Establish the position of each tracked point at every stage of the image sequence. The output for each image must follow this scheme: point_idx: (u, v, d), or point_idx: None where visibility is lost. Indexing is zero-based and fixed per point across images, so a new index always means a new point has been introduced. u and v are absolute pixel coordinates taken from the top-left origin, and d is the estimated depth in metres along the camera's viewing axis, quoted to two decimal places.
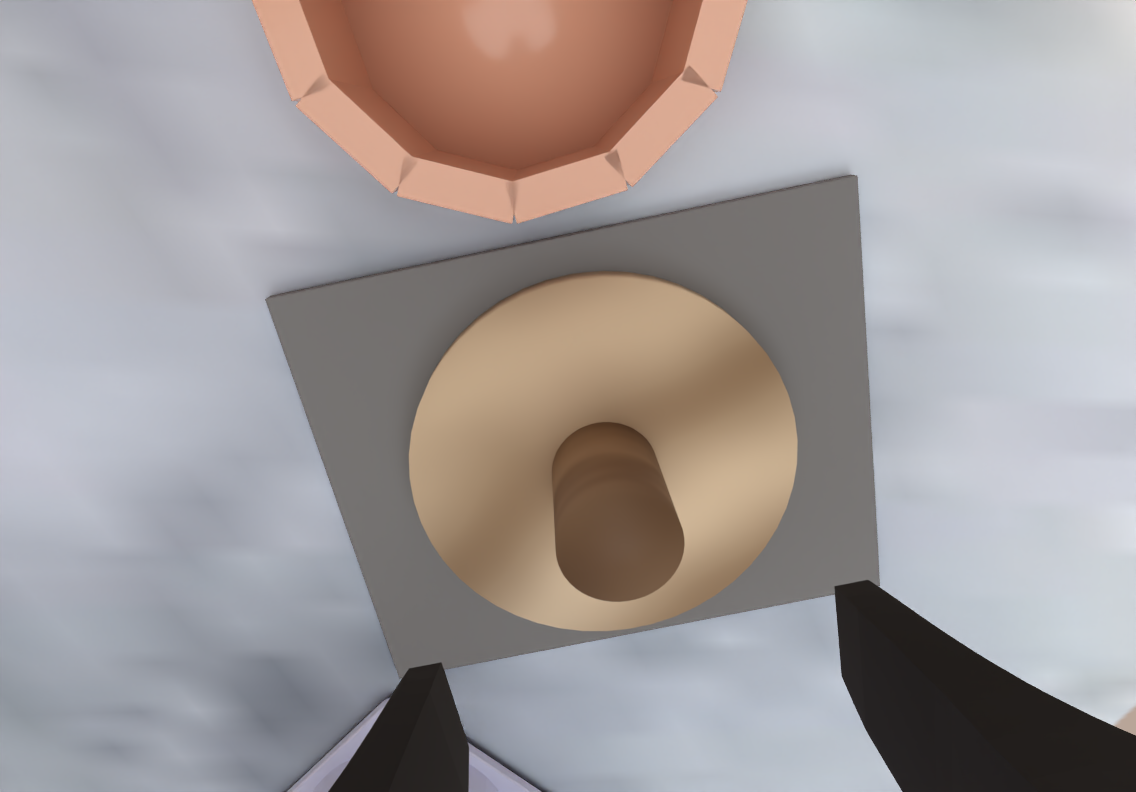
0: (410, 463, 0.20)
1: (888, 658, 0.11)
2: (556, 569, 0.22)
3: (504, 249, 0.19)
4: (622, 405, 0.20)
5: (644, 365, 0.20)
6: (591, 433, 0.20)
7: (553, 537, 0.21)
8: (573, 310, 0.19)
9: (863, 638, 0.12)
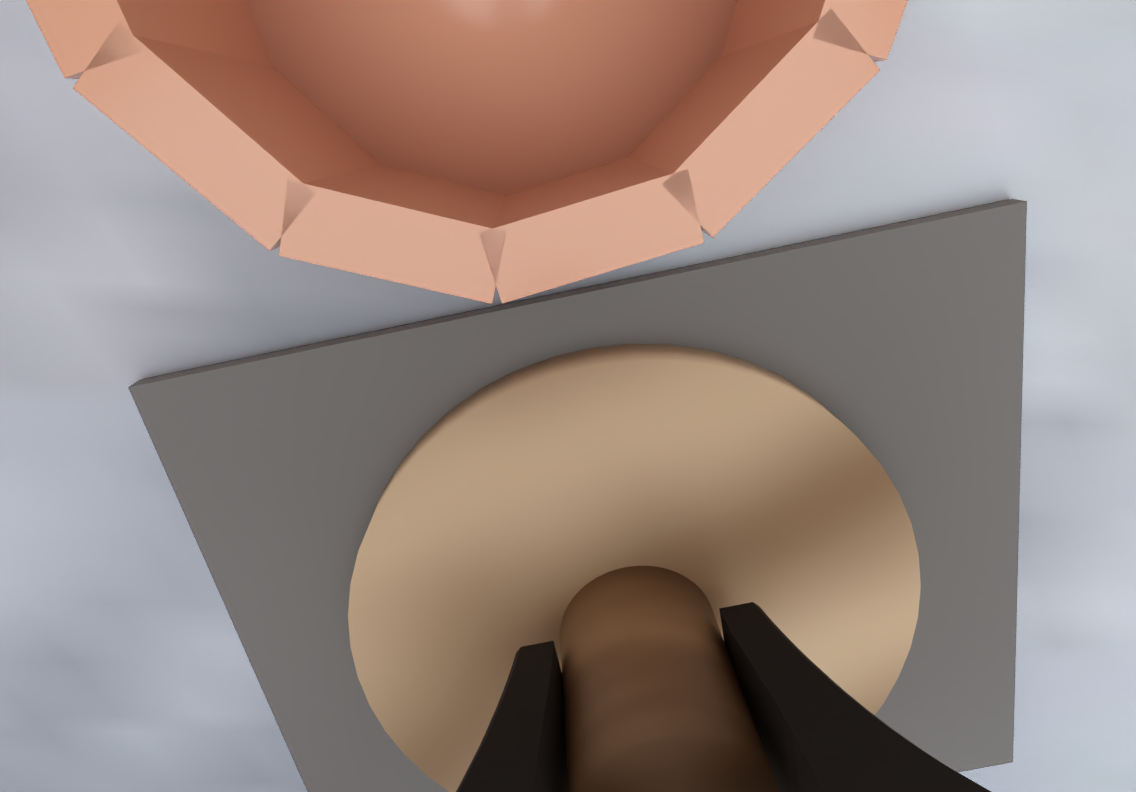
0: (350, 626, 0.14)
1: (754, 684, 0.11)
2: None
3: (488, 312, 0.13)
4: (665, 542, 0.13)
5: (699, 486, 0.13)
6: (619, 589, 0.13)
7: None
8: (592, 408, 0.12)
9: (738, 662, 0.12)
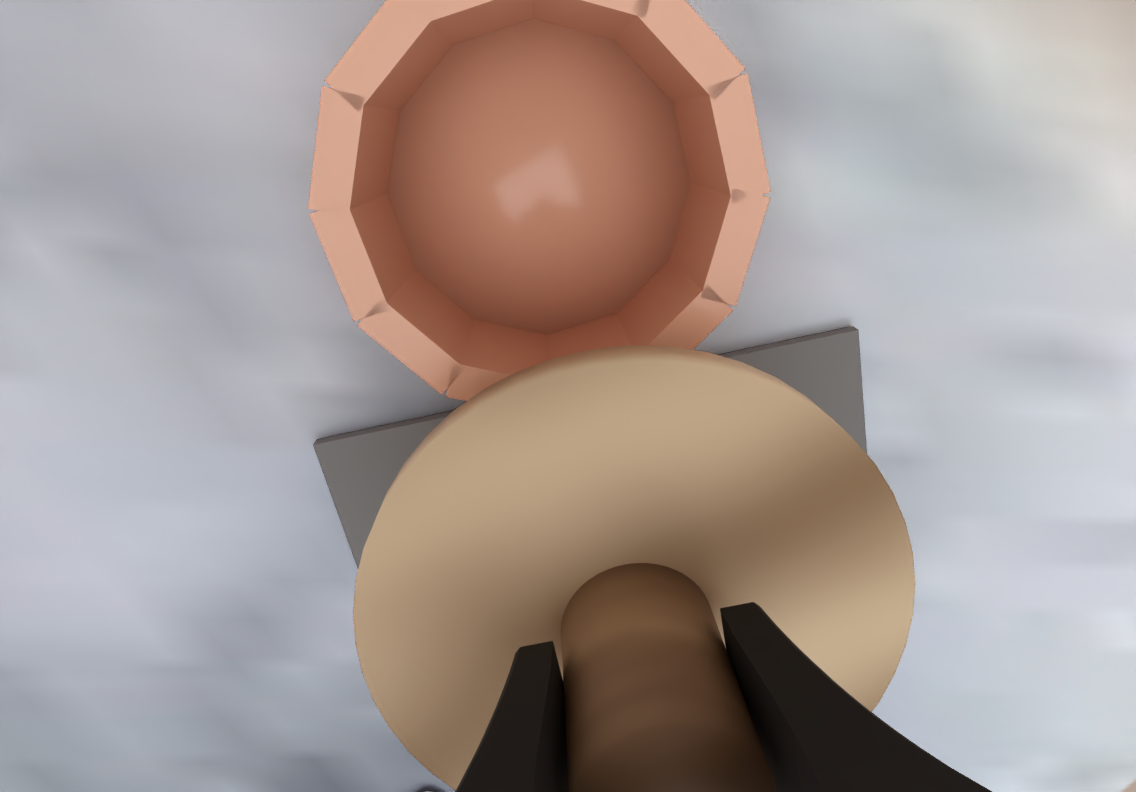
0: (355, 622, 0.14)
1: (754, 683, 0.11)
2: None
3: None
4: (663, 540, 0.14)
5: (696, 484, 0.13)
6: (619, 585, 0.13)
7: None
8: (592, 408, 0.13)
9: (738, 662, 0.12)
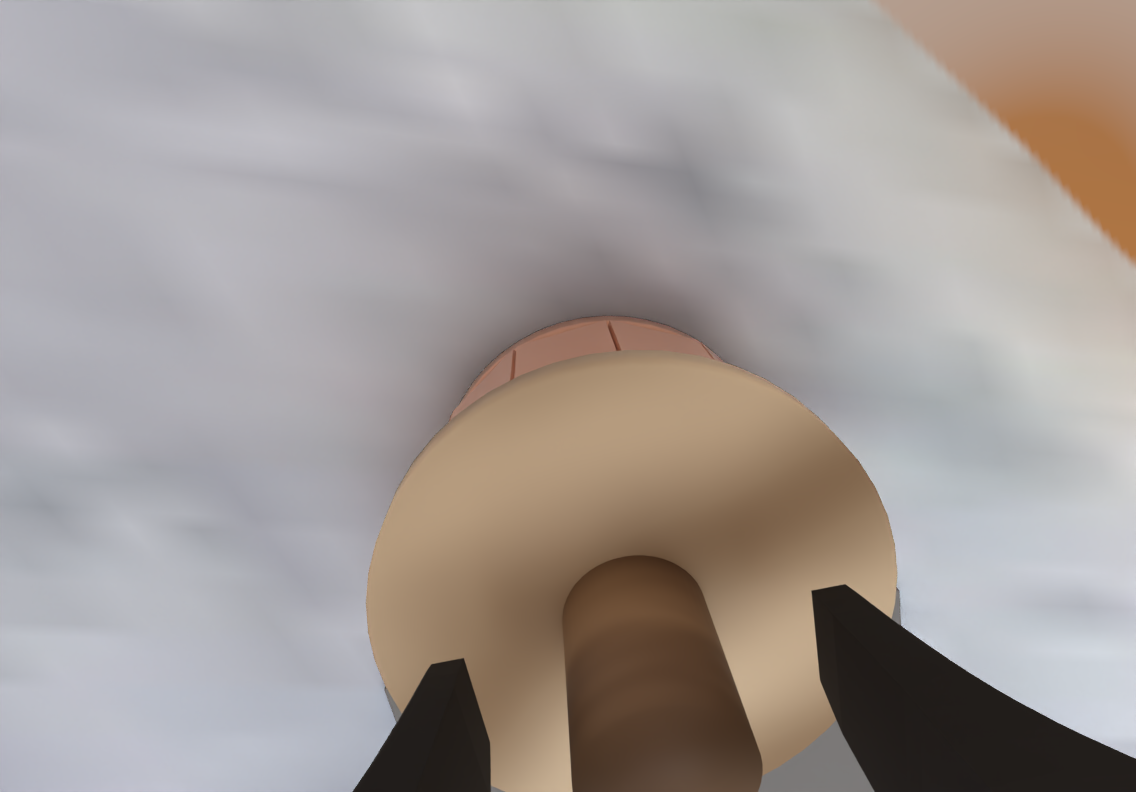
0: (368, 613, 0.15)
1: (861, 663, 0.11)
2: (569, 739, 0.16)
3: None
4: (659, 533, 0.14)
5: (689, 481, 0.14)
6: (617, 576, 0.14)
7: (565, 700, 0.16)
8: (591, 410, 0.13)
9: (838, 643, 0.12)
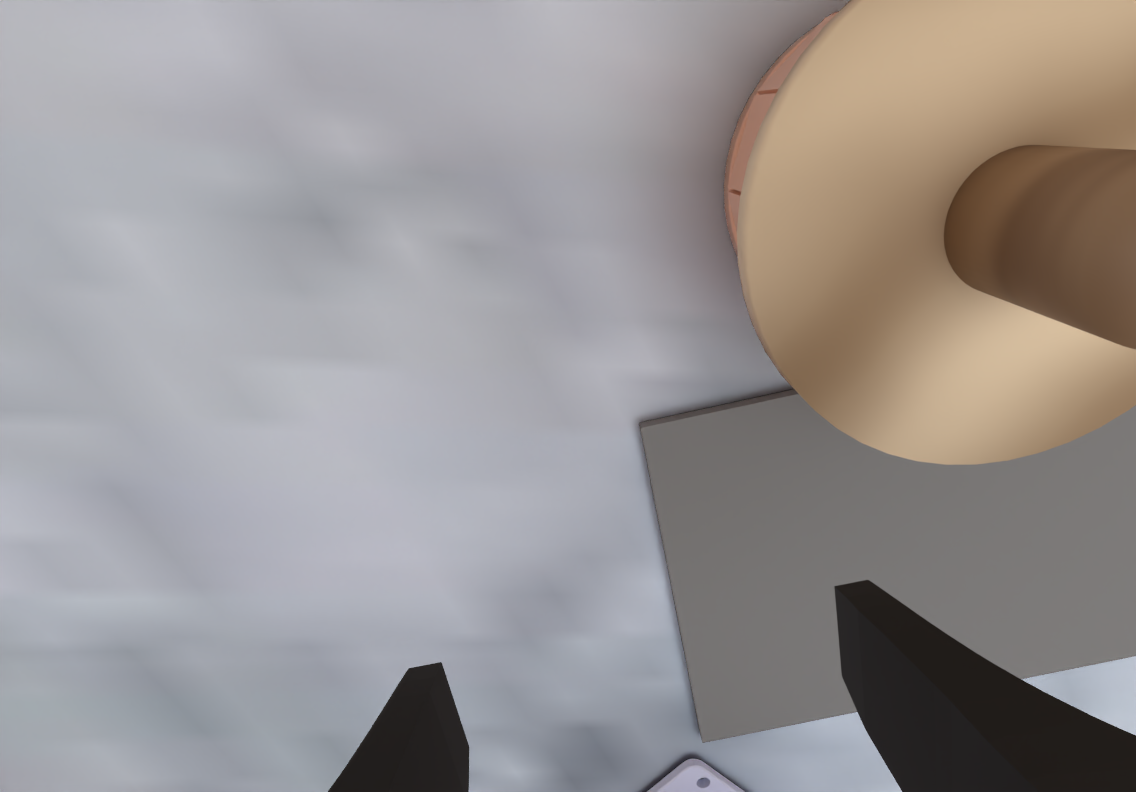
0: (753, 214, 0.15)
1: (888, 658, 0.11)
2: (926, 374, 0.16)
3: None
4: (1058, 118, 0.14)
5: (1100, 52, 0.14)
6: (1028, 150, 0.14)
7: (930, 326, 0.16)
8: None
9: (863, 638, 0.12)
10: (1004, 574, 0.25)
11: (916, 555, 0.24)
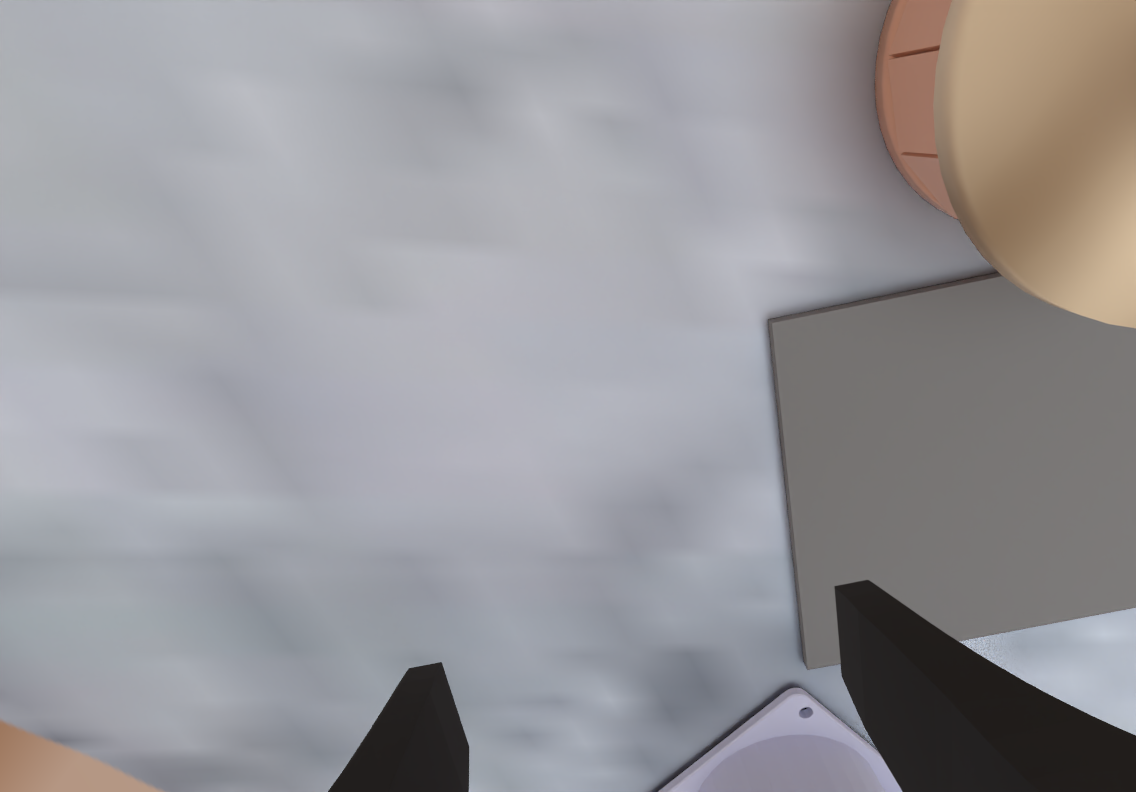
0: (969, 36, 0.14)
1: (888, 658, 0.11)
2: (1130, 224, 0.15)
3: (992, 277, 0.21)
4: None
5: None
6: None
7: None
8: None
9: (863, 638, 0.12)
10: (1131, 492, 0.24)
11: (1043, 469, 0.23)
